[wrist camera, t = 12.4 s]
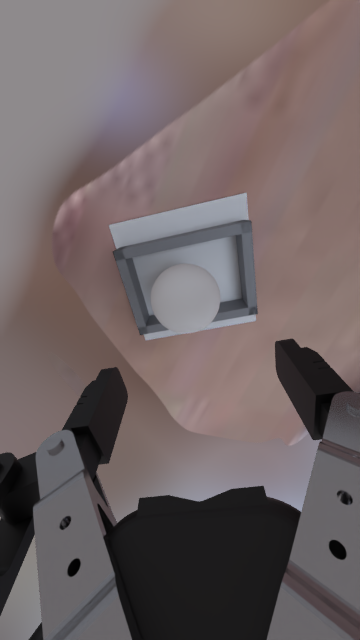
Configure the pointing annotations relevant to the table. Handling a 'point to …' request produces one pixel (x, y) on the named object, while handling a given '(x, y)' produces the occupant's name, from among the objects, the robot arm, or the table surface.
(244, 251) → the grey flat square tray
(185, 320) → the lightbulb
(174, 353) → the table surface
